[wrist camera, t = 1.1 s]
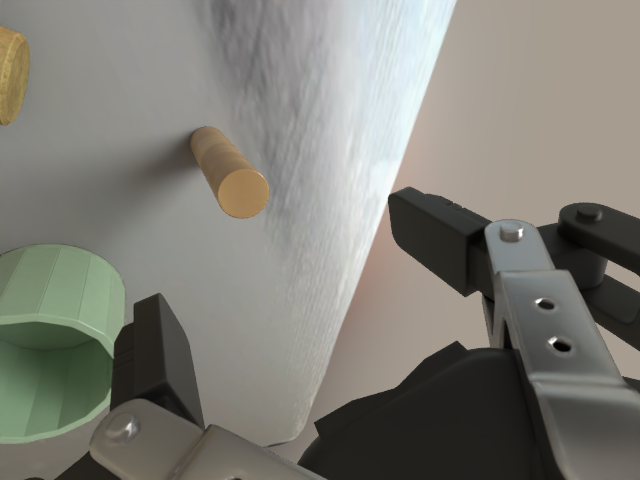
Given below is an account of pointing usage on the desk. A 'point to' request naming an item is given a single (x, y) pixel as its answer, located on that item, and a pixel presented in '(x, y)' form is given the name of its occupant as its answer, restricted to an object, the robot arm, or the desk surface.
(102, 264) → the cup
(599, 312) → the robot arm
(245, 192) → the stick
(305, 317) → the desk surface
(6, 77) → the gavel
